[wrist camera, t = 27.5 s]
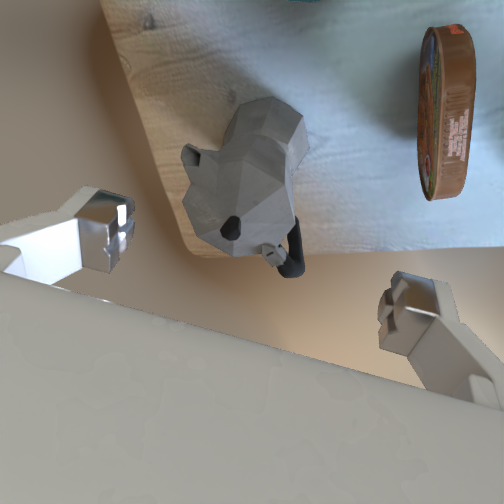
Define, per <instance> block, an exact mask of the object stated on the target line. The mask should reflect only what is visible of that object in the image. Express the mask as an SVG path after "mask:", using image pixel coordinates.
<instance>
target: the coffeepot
mask: <svg viewBox="0 0 504 504" xmlns="http://www.w3.org/2000/svg"><path fill="white" fill-rule="evenodd" d="M309 148H310V147H309V142H308V136H307V131H306V128H305V123H304V118H303V115H301V114H300V113H298V112H297V111H295V110H294V109H293V108H291V107H290V106H289V105H287V104H285V103H283V102H281V101H279V100H278V99H276V98H274V97H270V98H266V99H259V100H255V101H252V102H249V103H244V104H240V106H239V108H238V110H237V112H236V114H235V115H234V117H233V119H232V121H231V123H230V125H229V126H228V128H227V130H226V132H225V137H224V143H223V147H222V148H221V149H220V150H219V151H212V150H203V149H199V148H197V147H195V146H193V145H191V144H186V145H185V146H184V147H183V149H182V152H181V160H182V162H183V164H184V165H183V166H184V168H185V171H186V173H187V175H188V177H189V180H190V182H191V185H190V187H189V189H188V191H187V192H186V195H185V197H184V199H183V201H182V202H183V205H184V207H185V210H186V212H187V214H188V217H189V219H190V221H191V224H192V226H193V228H194V231H195V233H196V235H197V237H198V238H200V239H202V240H204V241H205V242H207V243H209V244H211V245H213V246H214V247H216V248H218V249H220V250H222V251H223V252H225V253H227V254H229V255H231V256H232V257H238V256H247V255H256V254H262V256H263V257H264V258H265V260H266V261H267V262H268V263H269V264H270V265H271V266H272V267H273V266H276V267H277V269H278V271H279V273H280V274H281V275H282V276H283V277H284V278H295V277H299V276H301V275H303V273H304V272H305V263H304V257H303V250H302V240H301V233H300V227H299V220H298V218H297V217H296V216H295V214H294V196H293V182H292V177H291V176H292V175H293V173H294V172H295V170H296V169H297V167H298V166H299V164H300V162H301V161H302V159H303V158H304V156H305V155H306V153H307V151H308V150H309ZM286 235H287V239H288V244H289V254H287V252H286V251H285V249H284V248H283V247H282V245H281V244H280V243H281V242H282V240H283V239H284V238H285V237H286Z"/></svg>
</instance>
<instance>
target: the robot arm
mask: <svg viewBox="0 0 504 504" xmlns="http://www.w3.org/2000/svg"><path fill="white" fill-rule="evenodd" d="M134 211H135V206H134V200H133V199H132V198H129V197H126V196H123V195H119V194H116V193H112V192H109V191H106V190H101V189H98V188H95V187H91V186H88V185H85V186H82V187H81V188H80V189H79V190H77V191H76V192H75V193H74V194H73V195H72V196H71V197H70V198H69V199H68V200H67V201H66V202H65V203H64V204H63V205H62V206H61V207H60V208H59V209H58V210H57V211H55V212H54V211H47V212H43V213H40V214H37V215H33V216H29V217H26V218H22V219H18V220H15V221H11V222H7V223H4V224H1V225H0V504H504V364H503V363H502V362H501V361H500V360H499V358H498V357H497V356H496V355H494V353H493V352H492V351H491V350H490V349H489V348H488V347H487V346H486V345H485V344H484V343H483V342H482V341H481V340H480V339H479V338H478V337H477V336H476V335H475V334H474V333H473V332H472V331H471V330H470V329H469V327H468V326H467V325H466V324H463V323H460V320H459V316H458V312H457V309H456V305H455V301H454V298H453V294H452V290H451V287H450V285H449V284H448V283H446V282H442V281H438V280H434V279H427V278H423V277H420V276H416V275H412V274H408V273H405V272H401V271H397V272H396V273H395V274H394V275H393V277H392V279H391V288H389V289H387V290H385V292H384V293H383V295H382V297H381V299H380V303H379V306H378V321H379V322H380V323H381V325H382V326H381V328H380V329H379V347H380V349H383V350H386V351H390V352H393V353H396V354H400V355H403V356H407V359H408V361H409V362H410V364H411V365H412V367H413V369H414V370H415V372H416V373H417V375H418V376H419V378H420V380H421V381H422V383H423V385H424V386H425V388H426V390H425V389H421V388H418V387H414V386H411V385H407V384H403V383H400V382H396V381H392V380H389V379H385V378H382V377H378V376H375V375H371V374H368V373H364V372H360V371H356V370H353V369H350V368H346V367H342V366H339V365H335V364H332V363H328V362H325V361H321V360H318V359H314V358H310V357H307V356H303V355H300V354H296V353H292V352H289V351H285V350H282V349H278V348H275V347H271V346H267V345H264V344H260V343H257V342H253V341H249V340H246V339H242V338H239V337H235V336H231V335H228V334H224V333H221V332H217V331H213V330H210V329H206V328H203V327H199V326H196V325H192V324H188V323H185V322H181V321H178V320H174V319H171V318H167V317H163V316H159V315H156V314H153V313H149V312H145V311H142V310H138V309H135V308H131V307H127V306H124V305H120V304H117V303H113V302H110V301H106V300H102V299H99V298H95V297H92V296H88V295H85V294H81V293H78V292H74V291H70V290H67V289H63V288H60V287H56V286H52V285H51V284H53V283H55V282H57V281H59V280H60V279H62V278H64V277H66V276H68V275H70V274H72V273H74V272H76V271H78V270H80V269H82V267H85V268H90V269H93V270H97V271H101V272H105V273H109V274H110V272H111V271H112V270H113V268H114V267H115V265H116V264H117V262H118V261H119V253H121V252H124V251H126V250H127V248H128V247H129V245H130V243H131V240H132V238H133V234H134V224H135V223H134V221H133V219H132V218H131V215H132V213H133V212H134Z"/></svg>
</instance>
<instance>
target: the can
mask: <svg viewBox="0 0 504 504" xmlns="http://www.w3.org/2000/svg"><path fill="white" fill-rule="evenodd" d="M288 1H289V0H288ZM290 1H300V2H316V1H320V0H290Z"/></svg>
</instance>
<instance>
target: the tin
mask: <svg viewBox="0 0 504 504" xmlns="http://www.w3.org/2000/svg"><path fill="white" fill-rule="evenodd" d="M475 90H476V57H475V49H474V45H473V41H472V37H471V35H470V33H469V32H468V31H467V30H466V29H465V28H464V26H462V25H461V24H452V25H447V26H442V27H436V28H435V27H429V28H428V29H427V31H426V33H425V36H424V39H423V43H422V48H421V57H420V74H419V106H418V136H417V151H418V167H419V175H420V181H421V185H422V190H423V193H424V195H425V198H426V199H427V200H428V201H432V200H436V199H445V198H452V197H456V196H458V195H459V194H460V193H461V191H462V189H463V187H464V184H465V179H466V174H467V166H468V158H469V149H470V140H471V130H472V121H473V110H474V101H475Z"/></svg>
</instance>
